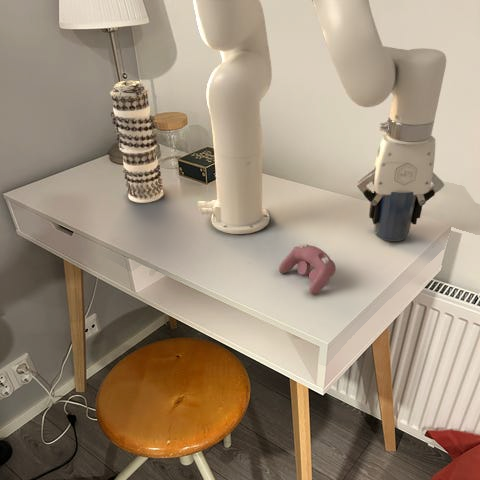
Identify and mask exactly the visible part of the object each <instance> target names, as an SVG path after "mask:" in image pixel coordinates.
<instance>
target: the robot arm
mask: <svg viewBox="0 0 480 480" xmlns="http://www.w3.org/2000/svg"><path fill="white" fill-rule="evenodd" d="M311 1H312V4H313V9H314V12H315V15H316V19H317V21H318V24H319V26H320V29H321V31H322V34H323V38H324V41H325V45H326V47H327V50H328V53H329V55H330V59H331V60H332V63H333V65H334V68H335V70H336V73H337V74H338V77H339V79H340V81H341V84H342V86H343V89H344V91H345V92H346V93H345V94H346V95H347V96H348V97H349V99H350V100H351V101H352V102H353V103H355V104H356V105H357V106H359V107H363V108H373V107H377V106H379V105H381V104H382V103H384V102H385V101H386V100H387V99H388V98H389V97H390V95H391V94H392V97H391V98H392V99H391V103H390V104H391V105H390V112H389V116H388V119H387V120H386V121H385V122H380V123H379V131H380V132H384V133H385V134H383V136H382V138H381V140H380V143H379V147H378V150H377V154H376V158H375V162H374V167H373V169H372V170H371V171H370V172H368V173H367V174H366V175H364V176H363V177H361V178H360V179H359V180H357V182H356V186H357V189H358V190H359V191H360V192H361V193H362V194H363V196H364V197H365V198H366V199H367V200H368V202H370V203H369V204H370V205H369V212H368V218H369V219H371V221H372V224H373V225H375V224H377V222H378V216H379V209H380V205H379V201H380V199H381V198H382V197H383V195H391V192H398V193H407V192H413V195H417V198H416V203H415V208H414V213H413V217H412V222H411V225H417V222H418V219H420V218H421V214H422V210H423V206H424V205H426V203H427V201H429V200H430V199H432V198H433V197H434V196H435V195H436V194H437V193H438V192H440V191H441V190H442V189H443V188H444V187H445V182H444V181H443V180H442V179H441V178H440V177H439V176H438V175H437V174H436V173H435V172H434V166H435V159H436V138H435V136H433V135H432V134H433V129H434V124H435V120H436V115H437V109H438V105H439V100H440V96H441V90H442V88H443V87H442V86H443V81H444V76H445V72H446V67H447V56H446V54H445V53H444V52H443V51H441V50H439V49H435V48H422V47H421V48H411V49H405V48H404V49H403V48H397V47H396V48H395V47H390V46H385V45H383V43H382V40H381V37H380V35H379V32H378V29H377V26H376V22H375V20H374V16H373V13H372V8H371V4H370V0H311ZM192 2H193V7H194V11H195V16H196V22H197V26H198V30H199V33H200V36H201V38H202V41H203V42H204V43H205V45H206V46H208V48H210V49H212V50H213V51H215V52H220V55H221V59H222V62H221V63H219V64H218V65H217V67H216V68H214V70H213V71H212V73H211V75H210V77H209V80H208V83H207V87H206V101H207V107H208V112H209V117H210V123H211V130H212V142H213V143H212V144H213V152H214V165H215V166H214V167H215V168H214V169H215V184H216V199H212V200H211V201H206V200H205V201H202V200H199V201H197V211H201V215H207V216H208V215H211V224H212V226H213V227H214V228H215V229H216V230H217V231H220V232H222V233H226V234H231V235H247V234H252V233H256V232H258V231H261V230H263V229H264V228H265V227H267V226H268V225H269V224H270V212H269V211H268V210H267V209H265V208H264V207H263V130H262V121H261V109H260V108H261V107H260V105H261V101H262V100H263V98H264V97H265V96H266V95H267V93H268V91H269V89H270V87H271V84H272V79H273V70H272V61H271V55H270V47H269V40H268V34H267V33H268V32H267V26H266V18H265V13H264V8H263V6H262V3H261V0H192ZM370 183H372V184H373V190H371V189H370V188H368V185H369V184H370Z"/></svg>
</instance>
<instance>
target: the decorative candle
mask: <svg viewBox="0 0 480 480" xmlns="http://www.w3.org/2000/svg"><path fill="white" fill-rule="evenodd" d="M148 92H149V88H147V87H145V86H144V84H143V83H142V82H141V81H138V80H125V81H124V80H123V81H119V82H117V83H115V84H114V86H113V89H112V90H111V91H109V95H111V101H112V105H113V108H112V110H113V111H112V112H110V116H111V118H112V124H113V125H114V126H115V127H114V134H116V135H115V136H116V139H115V140H116V141H118V148H119V151H121V154H122V159H123V160H122V163H123V173H124V180H126V181H125V186H126V193H127V194H128V199H129V200H130V202H131V201H132V202H134V203H139V204H140V203H142V204H144V203H145V204H146V203H152V202H156V201H158V200H160V199H161V198H162V197H163V196H164V188H163V187H164V186H163V179H162V178H161V176H162V172H161V171H160V170H161V165H160V164H159V161H158V156H157V154H156V153H157V152H156V148H157V144H158V141H157V140H156V139H155V138H157V134H156V132H153V130H154V129H156V124H155V123H153V122H155V120H156V119H155V117H154V116H153V115H151V106H150V105H151V104H150V102H149V97H148V96H149V95H148Z"/></svg>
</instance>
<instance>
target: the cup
mask: <svg viewBox="0 0 480 480" xmlns="http://www.w3.org/2000/svg"><path fill="white" fill-rule="evenodd" d="M416 198H417V195H413V192H407V193H398V192H391V195H383V197H382V198H381V199H380V201H379V205H380V209H379V216H378V222H377V224H374V227H373V233H374V235H375V236H376V237H378V239H381V240H384V241H389V242H400V241H404V240H406V239H407V238H408V237H409V235H410V231H411V227H412V217H413V213H414V208H415V203H416Z"/></svg>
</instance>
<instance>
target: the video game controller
mask: <svg viewBox="0 0 480 480" xmlns="http://www.w3.org/2000/svg"><path fill="white" fill-rule="evenodd" d="M296 266H297V268H296V270H297V273H298V274H299V275H303V276H307V275H308V279H309V281H310V282H311V284H310V286H309V293H310V295H313V296H314V295H317V294H318V293H320V292H321V291H322V290H323V289H324V288H325V287H326V285H327V284H328V282H329V281H330V280H331V278H333V276H334V275H335V274H336V271H337V267H336V264H335V261H334V260H333V259H331V258H330V255H328V254H327V253H326V252H325V251H324V250H322V249H321V248H319V247H317V246H315V245H310V244H307V243H302V244H300V243H299V244H298V245H296V246H294V247H293V248H292V250H291V251H290V252H289V253H288V255H287V256H285V258H284V259H283V260H282V261H281V263H280V264H279V267H278V271H279V273H280V274H281V275H282V274H287V273H288V272H289V271H292V269H294V268H295V267H296ZM311 267H314V268H313V269H312V268H311ZM311 269H312V270H311Z"/></svg>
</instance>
